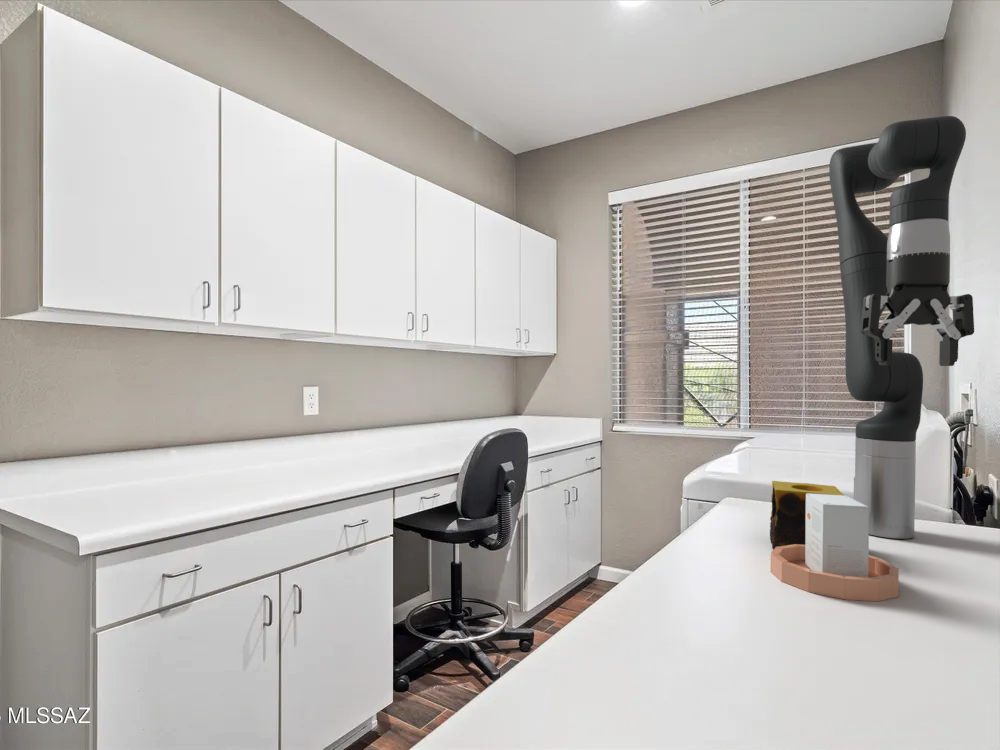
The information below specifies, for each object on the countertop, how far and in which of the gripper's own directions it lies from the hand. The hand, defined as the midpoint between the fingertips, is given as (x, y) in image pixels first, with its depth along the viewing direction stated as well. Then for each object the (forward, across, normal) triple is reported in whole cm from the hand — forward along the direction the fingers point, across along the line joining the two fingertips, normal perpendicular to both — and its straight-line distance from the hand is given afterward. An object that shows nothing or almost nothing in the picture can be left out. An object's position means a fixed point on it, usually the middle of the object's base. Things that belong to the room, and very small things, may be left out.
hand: (915, 365), depth 83 cm
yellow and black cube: (+30, +11, -10) cm, 34 cm away
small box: (+30, +14, +6) cm, 33 cm away
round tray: (+30, +14, +6) cm, 34 cm away
